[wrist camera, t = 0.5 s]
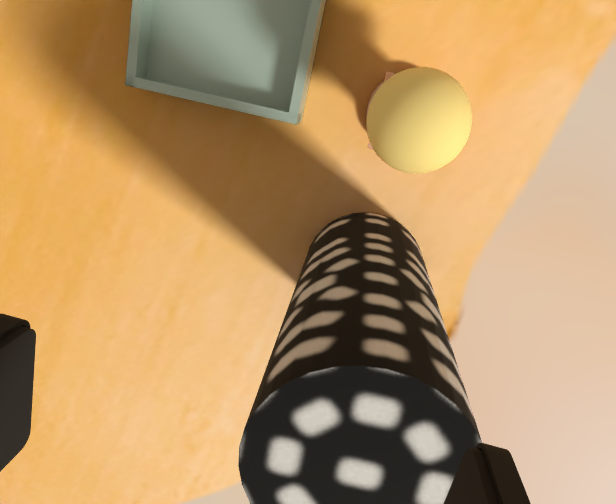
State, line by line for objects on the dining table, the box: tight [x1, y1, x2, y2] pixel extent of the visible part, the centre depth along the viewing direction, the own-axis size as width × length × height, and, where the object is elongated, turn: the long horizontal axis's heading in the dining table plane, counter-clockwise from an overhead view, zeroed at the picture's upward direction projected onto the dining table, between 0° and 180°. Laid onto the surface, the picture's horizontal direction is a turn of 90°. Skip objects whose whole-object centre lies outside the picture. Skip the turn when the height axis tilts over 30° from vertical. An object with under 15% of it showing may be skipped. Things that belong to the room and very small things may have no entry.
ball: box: [366, 67, 472, 174], centre depth 24 cm, size 5×5×5 cm
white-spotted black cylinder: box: [239, 213, 482, 504], centre depth 26 cm, size 8×8×20 cm
